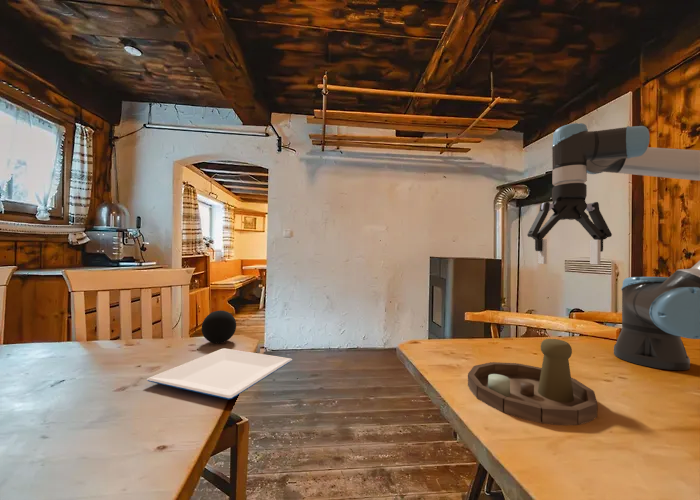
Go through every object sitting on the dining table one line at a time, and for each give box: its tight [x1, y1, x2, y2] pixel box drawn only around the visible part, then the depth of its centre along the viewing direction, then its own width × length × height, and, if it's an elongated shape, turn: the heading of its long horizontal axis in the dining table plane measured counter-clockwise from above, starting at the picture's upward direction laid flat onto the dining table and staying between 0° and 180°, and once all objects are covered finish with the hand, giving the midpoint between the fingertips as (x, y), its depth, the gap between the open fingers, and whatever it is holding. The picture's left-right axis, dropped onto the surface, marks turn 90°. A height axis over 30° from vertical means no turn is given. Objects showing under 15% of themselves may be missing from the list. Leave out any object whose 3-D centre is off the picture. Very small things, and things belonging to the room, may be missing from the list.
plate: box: [146, 347, 293, 400], centre depth 71 cm, size 22×22×2 cm
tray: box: [467, 361, 598, 426], centre depth 62 cm, size 22×22×3 cm
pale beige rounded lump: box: [488, 374, 510, 397], centre depth 62 cm, size 4×4×3 cm
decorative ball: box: [201, 310, 237, 344], centre depth 96 cm, size 10×10×10 cm
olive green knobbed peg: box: [538, 338, 574, 403], centre depth 61 cm, size 6×6×11 cm
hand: (568, 264), depth 82 cm, fingers open, 13 cm apart
